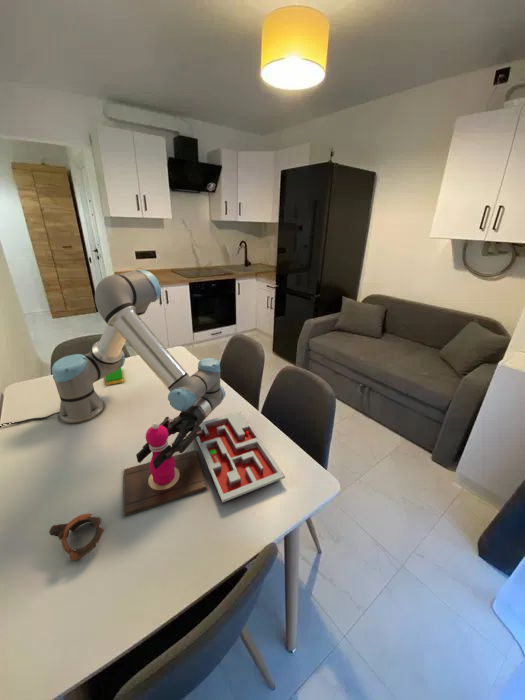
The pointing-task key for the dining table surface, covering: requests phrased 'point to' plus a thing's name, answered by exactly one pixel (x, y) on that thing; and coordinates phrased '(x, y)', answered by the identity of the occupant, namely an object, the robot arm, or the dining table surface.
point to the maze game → (236, 456)
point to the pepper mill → (157, 444)
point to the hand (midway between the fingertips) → (146, 461)
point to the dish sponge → (114, 377)
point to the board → (149, 494)
